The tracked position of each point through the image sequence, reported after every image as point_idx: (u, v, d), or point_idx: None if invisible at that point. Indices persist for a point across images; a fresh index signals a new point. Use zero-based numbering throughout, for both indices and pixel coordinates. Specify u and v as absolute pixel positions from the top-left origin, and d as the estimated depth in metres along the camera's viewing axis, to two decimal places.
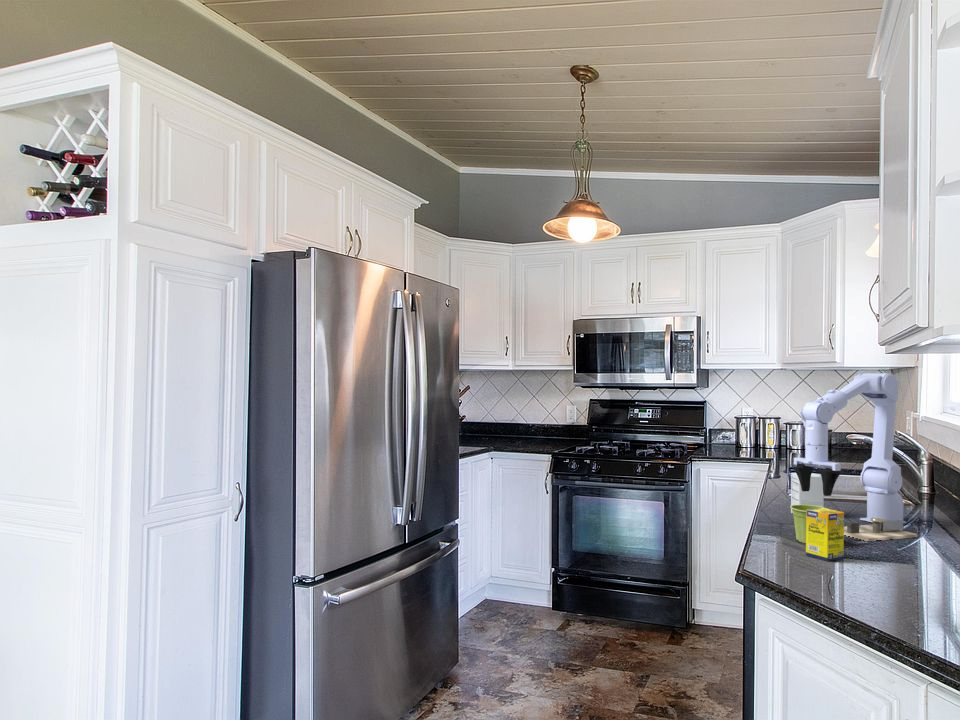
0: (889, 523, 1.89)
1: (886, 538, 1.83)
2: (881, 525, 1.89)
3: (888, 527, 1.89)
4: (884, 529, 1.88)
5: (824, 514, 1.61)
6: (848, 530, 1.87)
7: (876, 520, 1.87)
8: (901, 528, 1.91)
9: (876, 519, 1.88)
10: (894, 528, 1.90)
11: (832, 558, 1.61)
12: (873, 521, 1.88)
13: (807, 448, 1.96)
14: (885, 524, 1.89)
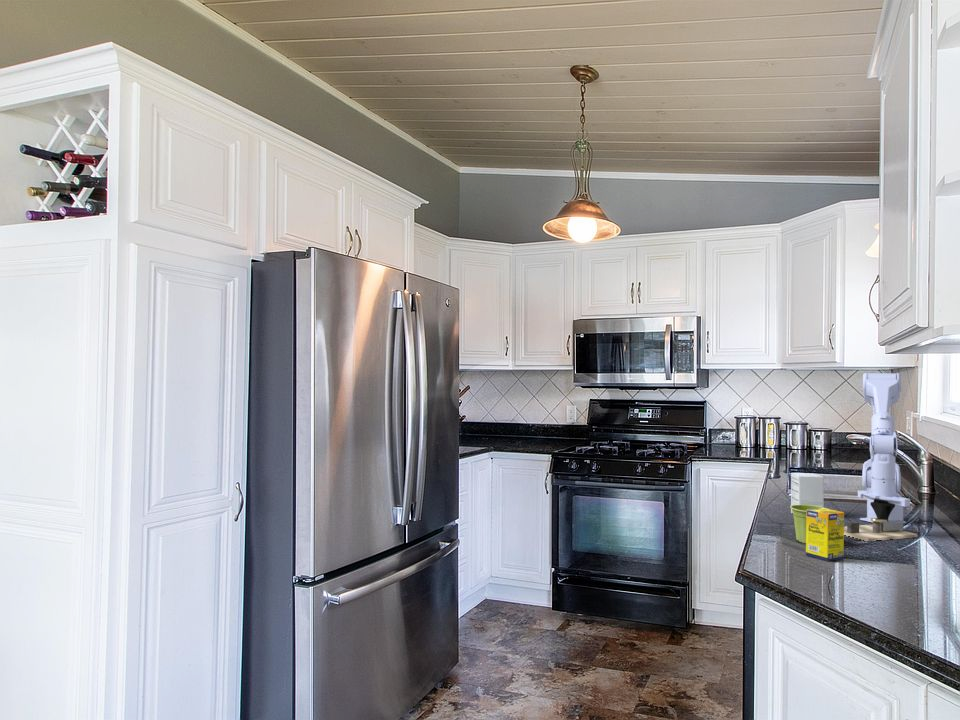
0: (889, 523, 1.89)
1: (886, 538, 1.83)
2: (881, 525, 1.89)
3: (888, 527, 1.89)
4: (884, 529, 1.88)
5: (824, 514, 1.61)
6: (848, 530, 1.87)
7: (876, 520, 1.87)
8: (901, 528, 1.91)
9: (876, 519, 1.88)
10: (894, 528, 1.90)
11: (832, 558, 1.61)
12: (873, 521, 1.88)
13: (874, 482, 1.91)
14: (885, 524, 1.89)
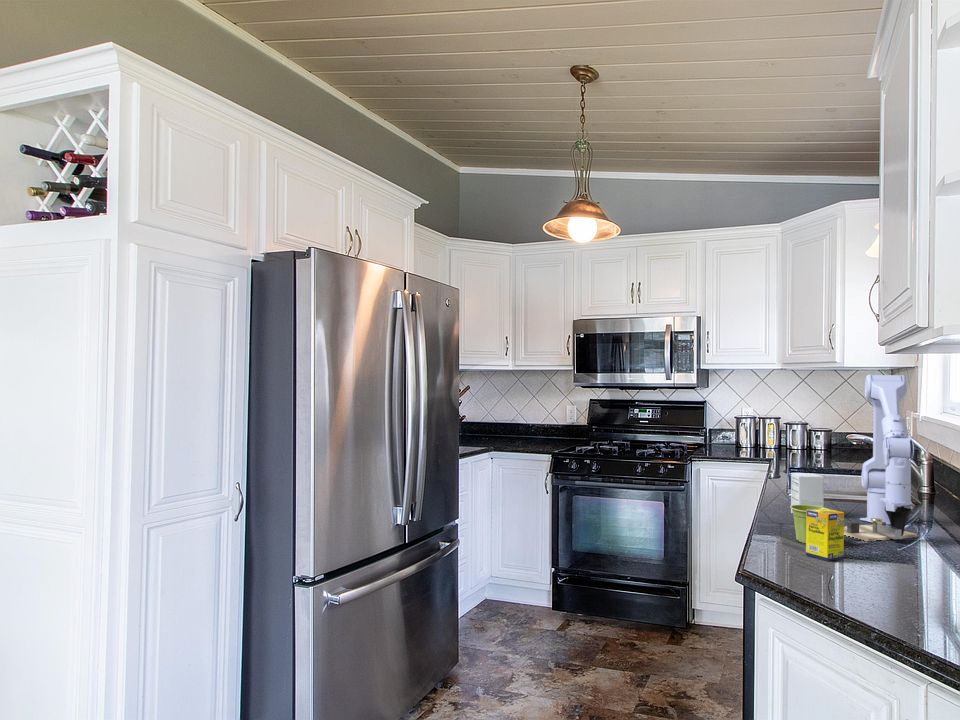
0: (882, 526, 1.85)
1: (886, 538, 1.83)
2: None
3: (881, 530, 1.85)
4: (878, 530, 1.86)
5: (824, 514, 1.61)
6: (848, 530, 1.87)
7: None
8: (893, 537, 1.80)
9: (872, 518, 1.89)
10: (887, 534, 1.83)
11: (832, 558, 1.61)
12: None
13: None
14: (879, 526, 1.86)
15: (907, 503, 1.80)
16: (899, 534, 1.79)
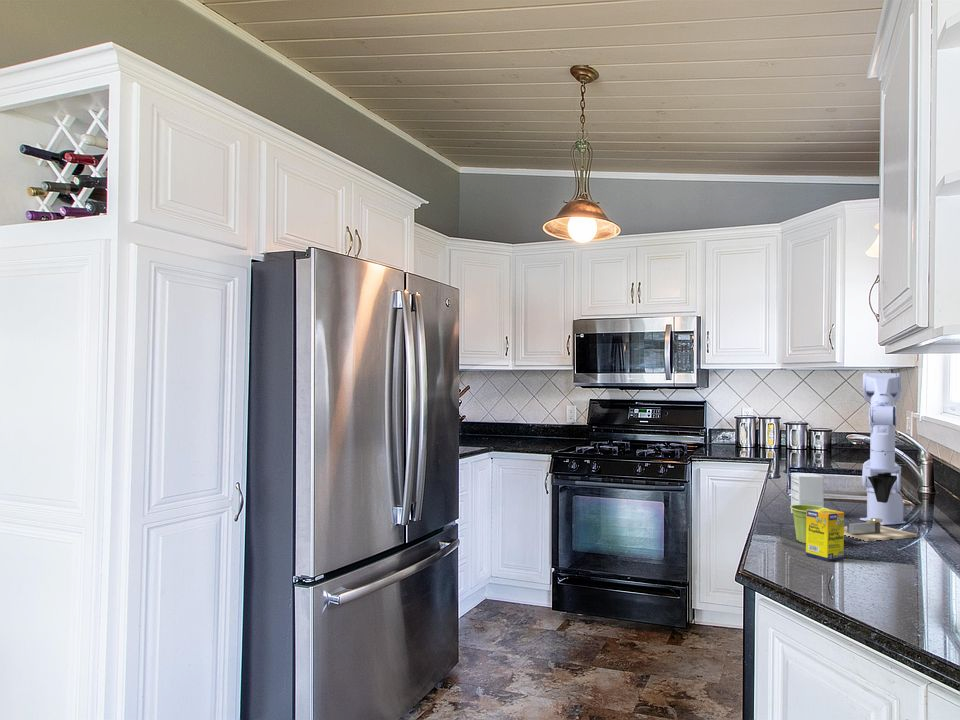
0: None
1: (886, 538, 1.83)
2: None
3: None
4: None
5: (824, 514, 1.61)
6: (848, 530, 1.87)
7: None
8: None
9: (876, 518, 1.89)
10: None
11: (832, 558, 1.61)
12: None
13: None
14: None
15: (888, 470, 1.83)
16: (852, 529, 1.85)
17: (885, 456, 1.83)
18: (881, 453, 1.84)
